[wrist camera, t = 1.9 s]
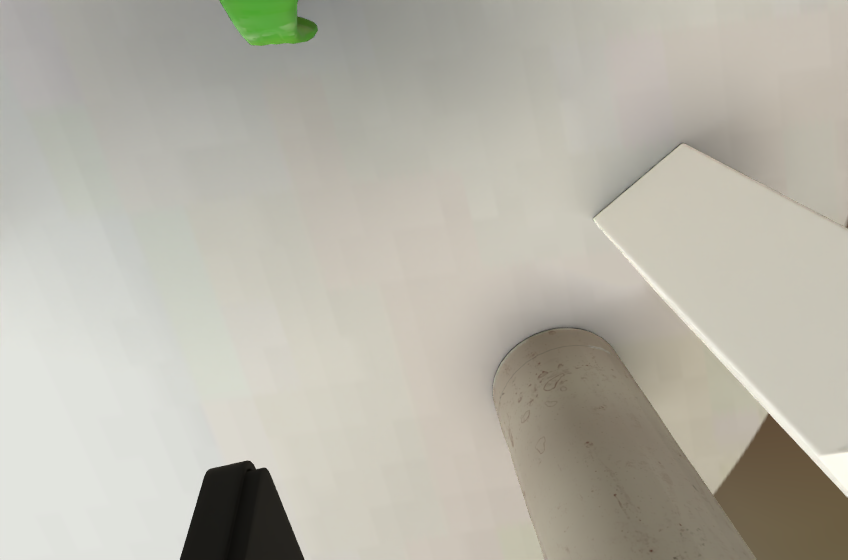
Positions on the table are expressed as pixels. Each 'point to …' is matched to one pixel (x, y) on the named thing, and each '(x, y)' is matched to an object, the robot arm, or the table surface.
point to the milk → (749, 288)
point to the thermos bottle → (602, 459)
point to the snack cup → (269, 21)
